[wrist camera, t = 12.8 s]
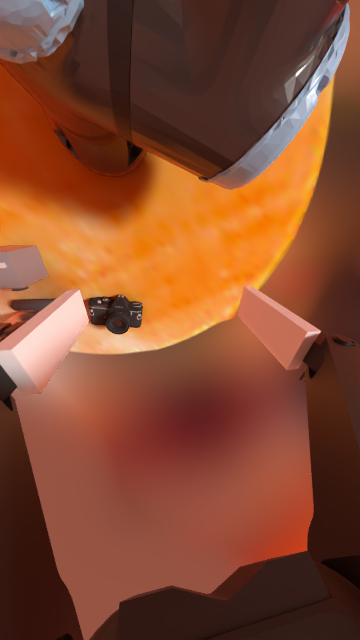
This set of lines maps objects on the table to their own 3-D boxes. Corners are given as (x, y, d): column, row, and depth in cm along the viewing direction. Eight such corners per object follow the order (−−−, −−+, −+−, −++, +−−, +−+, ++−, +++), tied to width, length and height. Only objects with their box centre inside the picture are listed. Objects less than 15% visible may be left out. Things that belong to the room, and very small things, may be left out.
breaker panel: (19, 306, 38) (-43, 344, 26) (78, 304, 39) (45, 340, 28) (27, 321, 40) (-27, 363, 28) (82, 319, 41) (54, 357, 30)
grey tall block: (8, 245, 31) (-36, 251, 24) (37, 245, 32) (2, 252, 25) (25, 280, 35) (-9, 295, 28) (50, 280, 36) (23, 294, 28)
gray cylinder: (22, 307, 38) (14, 312, 36) (17, 298, 37) (9, 302, 35) (67, 306, 39) (62, 310, 37) (64, 297, 38) (59, 301, 36)
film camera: (80, 334, 38) (81, 304, 31) (90, 312, 43) (92, 283, 37) (136, 344, 42) (147, 320, 36) (139, 323, 48) (148, 299, 41)
